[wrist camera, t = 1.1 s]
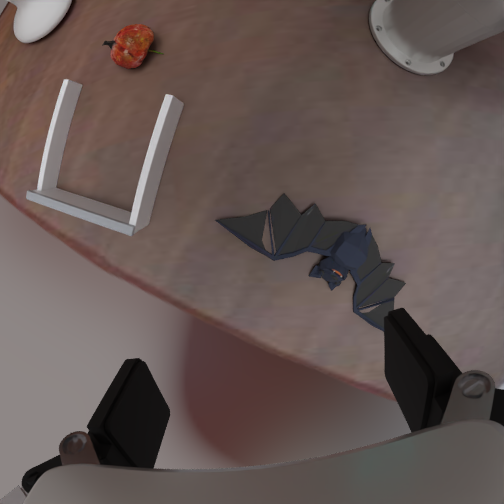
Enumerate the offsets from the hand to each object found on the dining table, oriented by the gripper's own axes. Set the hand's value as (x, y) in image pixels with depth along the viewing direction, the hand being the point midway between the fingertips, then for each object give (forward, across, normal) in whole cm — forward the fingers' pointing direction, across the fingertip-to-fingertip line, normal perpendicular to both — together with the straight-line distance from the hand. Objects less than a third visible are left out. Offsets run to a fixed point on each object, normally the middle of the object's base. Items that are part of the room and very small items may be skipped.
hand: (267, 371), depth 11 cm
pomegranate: (+27, +9, -25) cm, 38 cm away
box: (+26, +16, -14) cm, 34 cm away
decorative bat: (+27, -8, +6) cm, 29 cm away
